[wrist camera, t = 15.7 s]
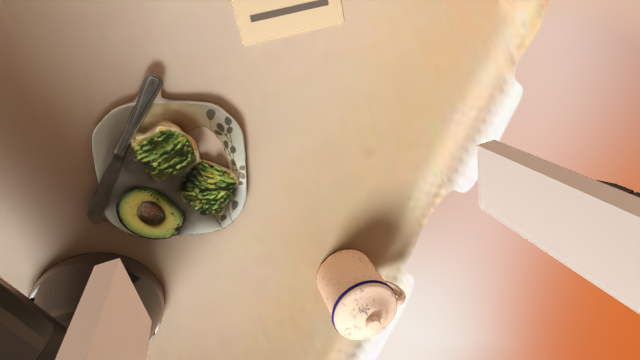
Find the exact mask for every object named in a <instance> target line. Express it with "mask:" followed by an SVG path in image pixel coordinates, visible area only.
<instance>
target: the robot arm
mask: <svg viewBox="0 0 640 360" xmlns="http://www.w3.org/2000/svg"><path fill="white" fill-rule="evenodd" d="M477 154H478V186H479V208H480V209H482V210H483V211H485V212H486V213H488V214H489V215H491V216H492V217H494V218H495V219H497V220H498V221H500V222H502V223H503V224H504V225H506V226H507V227H509V228H510V229H512V230H513V231H515V232H516V233H518V234H519V235H521V236H522V237H524V238H525V239H527V240H529V241H530V242H531V243H533V244H535V245H536V246H537V247H539V248H540V249H542V250H543V251H545V252H546V253H548V254H549V255H551V256H552V257H554V258H556V259H557V260H559V261H560V262H562V263H563V264H565V265H566V266H568V267H569V268H571V269H572V270H574V271H575V272H577V273H578V274H580V275H581V276H583V277H584V278H586V279H587V280H589V281H590V282H592V283H593V284H595V285H596V286H598V287H599V288H601V289H602V290H604V291H605V292H607V293H608V294H610V295H611V296H613V297H614V298H616V299H617V300H619V301H620V302H622V303H623V304H625V305H626V306H628V307H629V308H631V309H632V310H634V311H635V312H637V313H639V314H640V193H638V192H636V193H634V191H633V190H630V189H628V188H625V187H623V186H620V185H617V184H614V183H608V182H604V181H599V180H594V179H592V178H589V177H587V176H584V175H582V174H579V173H576V172H574V171H572V170H569V169H567V168H564V167H562V166H559V165H556V164H554V163H552V162H549V161H547V160H544V159H542V158H539V157H536V156H534V155H531V154H529V153H526V152H524V151H521V150H519V149H516V148H514V147H511V146H509V145H506V144H504V143H501V142H499V141H496V140H493V141H489V142H486V143H483V144H480V145H477ZM163 309H164V293H163V290H162V287H161V284H160V283H159V281H158V279H157V278H156V276H155V275H154V274H153V273H152V272H151V271H150V270H149V269H148V268H146V267H145V266H144V265H142V264H140V263H139V262H137V261H135V260H133V259H130V258H127V257H125V256H121V255H116V254H110V253H89V254H82V255H78V256H74V257H71V258H68V259H66V260H63V261H61V262H59V263H57V264H56V265H54V266H53V267H51V268H50V269H48V270H47V271H46V272H45V273H44V274H43V275H42V276H41V277H40V278H39V280H38V281H37V283H36V284H35V286H34V287H33V289H32V291H31V292H30V294H29V296H28V298H27V297H26V296H25V295H24V294H22V293H21V292H20V291H18V290H17V289H16V288H14V287H13V286H12V285H10V284H9V283H8V282H6V281H5V280H4V279H3V278H1V277H0V360H146V357H147V350H148V343H149V342H150V341H151V340H152V338H153V337H154V335H155V334H156V332H157V330H158V328H159V326H160V324H161V321H162V317H163Z"/></svg>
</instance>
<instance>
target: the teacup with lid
mask: <svg viewBox="0 0 640 360" xmlns="http://www.w3.org/2000/svg"><path fill="white" fill-rule="evenodd" d="M317 284H318V287H319V290H320V292H321V294H322V296H323V298H324V301H325V303H326V305H327V307H328V310H329V312H330V314H331V316H332V322H333V325H334V327H335V329H336V330H337V331H338V332H339V333H340V334H341V335H343V336H344V337H347V338H349V339H354V340H362V339H367V338H371V337H373V336H375V335H377V334H379V333H380V332H382V331H383V330H384V329H385V328H386V327H387V326H388V325H389V324H390V323H391V321H392V320H393V318H394V316H395V314H396V310H397V306H399V305H402V304H403V303H404V301H405V298H406V296H405V293H404V292H403V290H402V289H401V288H400V287H398V286H397V285H395V284H393V283H391V282H389V281H385V280H384V279H383V278H382V277H381V275H380V274H379V273H378V271H377V270H376V268H375V267H374V266H373V264H372V263H371V261H370V260H369V259H368V257H367V256H366V255H365V254H363V253H362V252H360V251H357V250H352V249H347V250H342V251H338V252H336V253H334V254H332V255H331V256H329V257H328V258H327V259H326V260H325V261H324V262H323V263H322V265H321V266H320V268H319V271H318V274H317ZM396 295H397V296H398V297H396Z"/></svg>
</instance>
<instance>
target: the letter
mask: <svg viewBox="0 0 640 360" xmlns="http://www.w3.org/2000/svg"><path fill="white" fill-rule="evenodd" d="M231 2H232V6H233V10H234V13H235V17H236V21H237V25H238V28H239V32H240V36H241V39H242V43H243V46H246V45H250V44H254V43H258V42H262V41H267V40H271V39H275V38H279V37H284V36H288V35H292V34H296V33H300V32H305V31H309V30H313V29H317V28H322V27H326V26H330V25H334V24H338V23H343V22H344V18H343V11H342V5H341V0H231Z"/></svg>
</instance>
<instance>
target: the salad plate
mask: <svg viewBox="0 0 640 360" xmlns="http://www.w3.org/2000/svg"><path fill="white" fill-rule="evenodd" d="M162 87H163V82H162V79H161V78H160V77H159V76H157V75H155V74H149V75H148V76H147V77H146V78H145V80H144V82H143V85H142V87H141V90H140V93H139V94H138V96H137V98H136V99H135V100H134V101H132V102H129V103H127V104H124V105H121V106H119V107H116V108H115V109H113V110H112V111H111V112H110V113H109V114H107V115H106V116H105V117H104V118H103V120H102V121H101V122H100V123H99V124H98V125H97V127H96V128H95V130H94V132H93V135H92V153H93V158H94V164H95V171H96V176H97V180H98V183H99V184H98V189H97V191H96V192H95V193H94V194H93V196H92V199H91V202H90V206H89V210H88V218H89V219H90V220H91V222H92V223H93V225H94V224H99V223H100V222H101V221H109V222H110V223H112V224H113V225H115V226H116V227H117V228H118V229H120V230H122V231H124V232H126V233H128V234H131V235H134V236H140V237H144V238H148V239H166V238H170V237H171V236H175V235H184V234H198V233H208V232H214V231H218V230H221V229H223V228H225V227H227V226H228V225H230V224H231V223H232V222H233V221H234V220H235V219H236V218H237V216H238V215H239V214H240V213H241V211H242V210H243V208H244V205H245V201H246V197H247V176H246V159H245V158H246V152H245V144H244V137H243V132H242V130H241V127H240V126H239V125H238V123H237V121H236V119H235V118H234V117H233V116H232V115H231V114H229V113H228V112H227V111H226V110H225V109H224V108H223V107H221V106H220V105H218V104H216V103H211V102H199V101H190V100H177V101H176V100H171V99H165V98H163V97H162V96H161V89H162ZM202 126H205V127H206V128H208V129H209V130H210V131H212V132H213V133H214V134H215V135H216V137H217V138H218V139H219V140H220V141H221V143H222V145H223V147H224V150H225V151H226V154H227V160H228V166H229V169H227V168H225V167H222V166H220V165H218V164H215V163H213V162H210V161H206V160H203V159H201V158H200V155H199V150H198V146H197V144H196V142H195V140H194V139H193V138H192V137H191V136H189V135H188V131H190V130H192V129H194V128H198V127H202ZM133 158H137V160H138V162H137V163H134V162H133V161H132V159H133ZM185 177H186V180H185V181H183V180H184V178H185Z"/></svg>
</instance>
